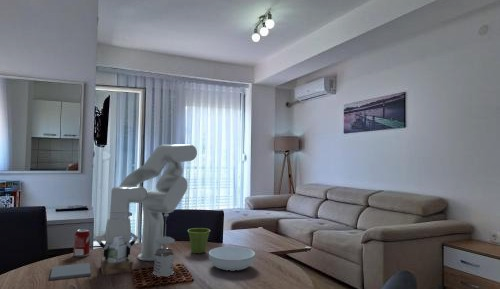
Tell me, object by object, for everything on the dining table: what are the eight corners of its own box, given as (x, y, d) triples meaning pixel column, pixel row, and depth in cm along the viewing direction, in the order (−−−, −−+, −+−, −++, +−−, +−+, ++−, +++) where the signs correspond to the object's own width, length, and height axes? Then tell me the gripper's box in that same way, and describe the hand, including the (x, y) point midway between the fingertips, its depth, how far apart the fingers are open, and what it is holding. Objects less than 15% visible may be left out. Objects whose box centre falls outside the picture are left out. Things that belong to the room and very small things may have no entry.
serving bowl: (198, 266, 149) (199, 251, 150) (232, 258, 165) (232, 244, 165) (230, 279, 135) (231, 262, 136) (264, 268, 151) (264, 253, 151)
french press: (153, 279, 132) (157, 215, 133) (148, 270, 142) (151, 211, 143) (178, 276, 136) (181, 214, 137) (171, 267, 146) (173, 210, 148)
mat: (89, 265, 145) (89, 263, 145) (90, 275, 133) (90, 273, 133) (52, 268, 139) (52, 266, 139) (49, 280, 126) (49, 277, 126)
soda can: (82, 258, 155) (84, 232, 156) (70, 256, 156) (71, 231, 157) (92, 254, 162) (93, 229, 162) (80, 253, 163) (81, 228, 164)
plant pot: (190, 248, 180) (191, 227, 180) (211, 250, 178) (212, 228, 179) (183, 254, 168) (184, 231, 169) (206, 256, 166) (207, 233, 167)
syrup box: (126, 268, 144) (128, 234, 144) (116, 272, 138) (118, 236, 139) (115, 266, 146) (117, 232, 146) (105, 270, 140) (107, 235, 141)
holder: (128, 263, 149) (129, 254, 150) (132, 271, 139) (132, 261, 140) (100, 266, 144) (101, 257, 144) (102, 274, 134) (103, 264, 134)
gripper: (138, 213, 150) (136, 253, 149) (96, 215, 142) (93, 257, 141) (141, 216, 144) (139, 257, 143) (97, 218, 136) (94, 262, 135)
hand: (116, 257), depth 142 cm, fingers closed on syrup box, 7 cm apart
